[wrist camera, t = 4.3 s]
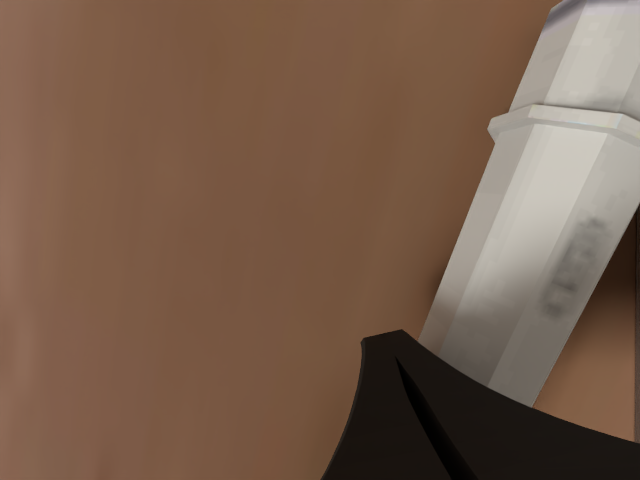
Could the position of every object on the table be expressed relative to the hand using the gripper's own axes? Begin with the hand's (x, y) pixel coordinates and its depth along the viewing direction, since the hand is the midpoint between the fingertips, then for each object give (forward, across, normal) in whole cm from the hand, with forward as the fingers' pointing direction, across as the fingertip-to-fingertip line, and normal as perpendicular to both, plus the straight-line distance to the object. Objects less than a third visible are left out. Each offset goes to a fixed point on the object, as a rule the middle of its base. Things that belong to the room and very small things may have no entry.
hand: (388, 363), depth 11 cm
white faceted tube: (+3, -1, +3) cm, 5 cm away
